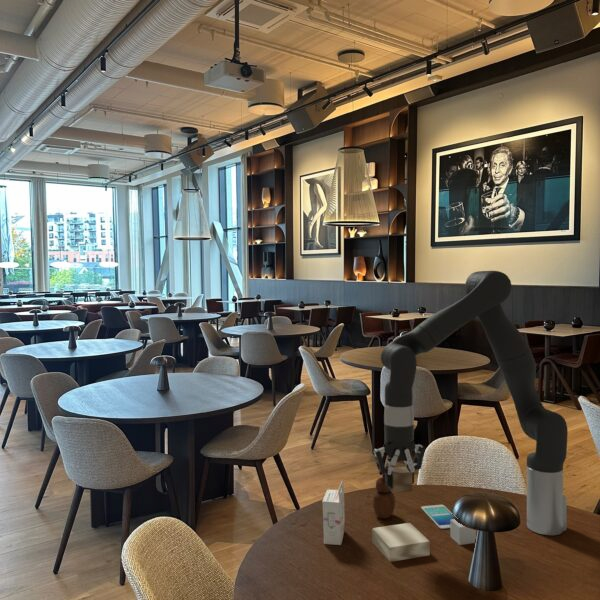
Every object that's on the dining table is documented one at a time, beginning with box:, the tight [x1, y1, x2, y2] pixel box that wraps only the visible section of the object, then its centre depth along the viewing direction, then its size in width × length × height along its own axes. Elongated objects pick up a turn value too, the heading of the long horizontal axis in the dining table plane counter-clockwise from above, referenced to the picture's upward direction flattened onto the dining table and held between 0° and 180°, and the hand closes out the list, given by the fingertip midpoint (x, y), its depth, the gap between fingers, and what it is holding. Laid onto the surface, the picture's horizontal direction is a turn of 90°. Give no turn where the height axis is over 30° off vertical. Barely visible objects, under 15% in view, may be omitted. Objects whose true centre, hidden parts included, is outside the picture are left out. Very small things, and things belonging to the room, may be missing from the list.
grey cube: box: [449, 519, 477, 546], centre depth 146 cm, size 5×5×5 cm
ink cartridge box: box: [321, 479, 346, 546], centre depth 148 cm, size 9×5×15 cm, turn 168°
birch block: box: [371, 522, 431, 563], centre depth 142 cm, size 11×11×4 cm
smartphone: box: [420, 504, 454, 531], centre depth 160 cm, size 8×1×15 cm
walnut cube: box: [390, 466, 413, 494], centre depth 141 cm, size 5×5×5 cm
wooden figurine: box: [372, 464, 396, 519], centre depth 161 cm, size 7×6×15 cm
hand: (399, 486), depth 142 cm, fingers closed on walnut cube, 4 cm apart
